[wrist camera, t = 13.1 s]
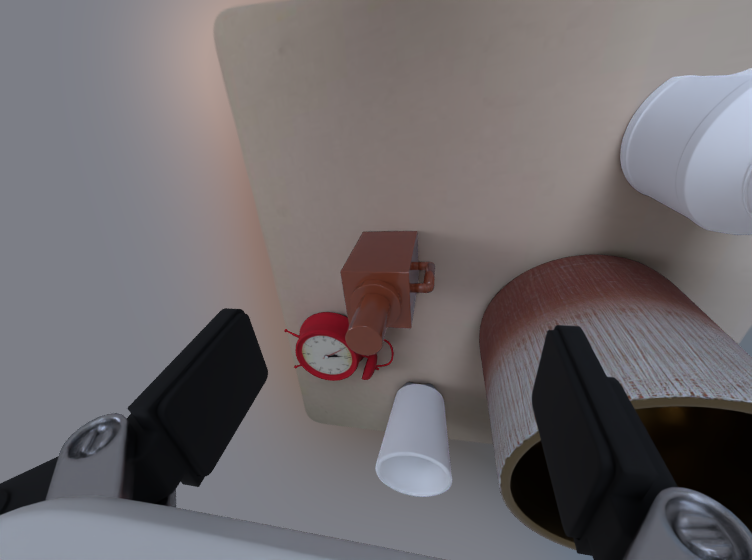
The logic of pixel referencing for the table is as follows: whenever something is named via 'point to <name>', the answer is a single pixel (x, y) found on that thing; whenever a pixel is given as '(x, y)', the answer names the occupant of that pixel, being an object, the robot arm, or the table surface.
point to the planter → (619, 379)
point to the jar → (696, 150)
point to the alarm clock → (330, 348)
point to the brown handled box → (382, 286)
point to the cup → (416, 443)
